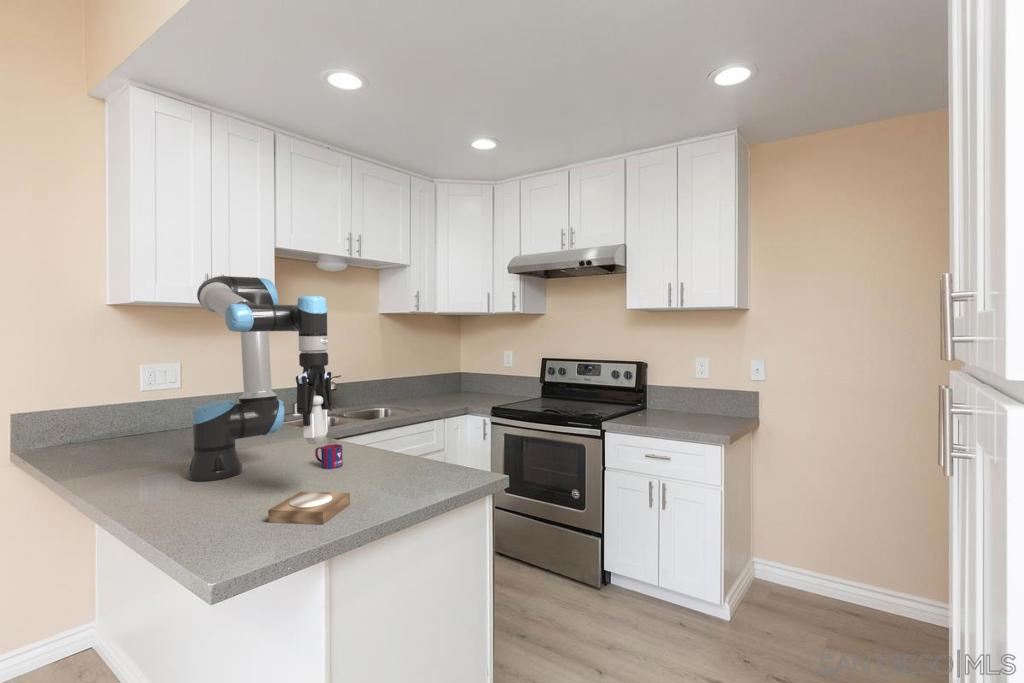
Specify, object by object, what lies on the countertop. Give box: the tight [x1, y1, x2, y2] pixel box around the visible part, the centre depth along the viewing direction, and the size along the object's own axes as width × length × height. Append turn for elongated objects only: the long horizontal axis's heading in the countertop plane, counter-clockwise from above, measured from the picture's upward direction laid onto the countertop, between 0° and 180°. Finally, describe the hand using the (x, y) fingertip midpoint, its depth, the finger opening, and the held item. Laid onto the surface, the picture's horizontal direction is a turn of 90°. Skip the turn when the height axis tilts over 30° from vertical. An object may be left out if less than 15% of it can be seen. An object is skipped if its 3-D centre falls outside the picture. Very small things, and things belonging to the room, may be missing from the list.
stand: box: [267, 491, 351, 525], centre depth 129 cm, size 14×14×3 cm
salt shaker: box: [305, 395, 328, 445], centre depth 142 cm, size 6×6×13 cm
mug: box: [314, 443, 344, 470], centre depth 174 cm, size 7×10×7 cm
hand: (315, 434), depth 143 cm, fingers closed on salt shaker, 6 cm apart
